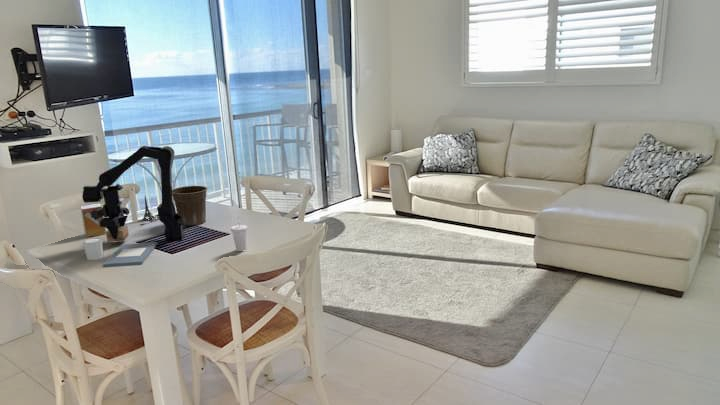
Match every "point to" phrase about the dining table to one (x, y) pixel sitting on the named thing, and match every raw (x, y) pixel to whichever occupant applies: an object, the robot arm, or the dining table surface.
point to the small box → (91, 221)
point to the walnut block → (121, 234)
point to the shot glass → (93, 248)
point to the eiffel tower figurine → (148, 214)
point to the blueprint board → (131, 254)
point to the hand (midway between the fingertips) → (118, 236)
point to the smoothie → (239, 236)
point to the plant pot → (190, 204)
